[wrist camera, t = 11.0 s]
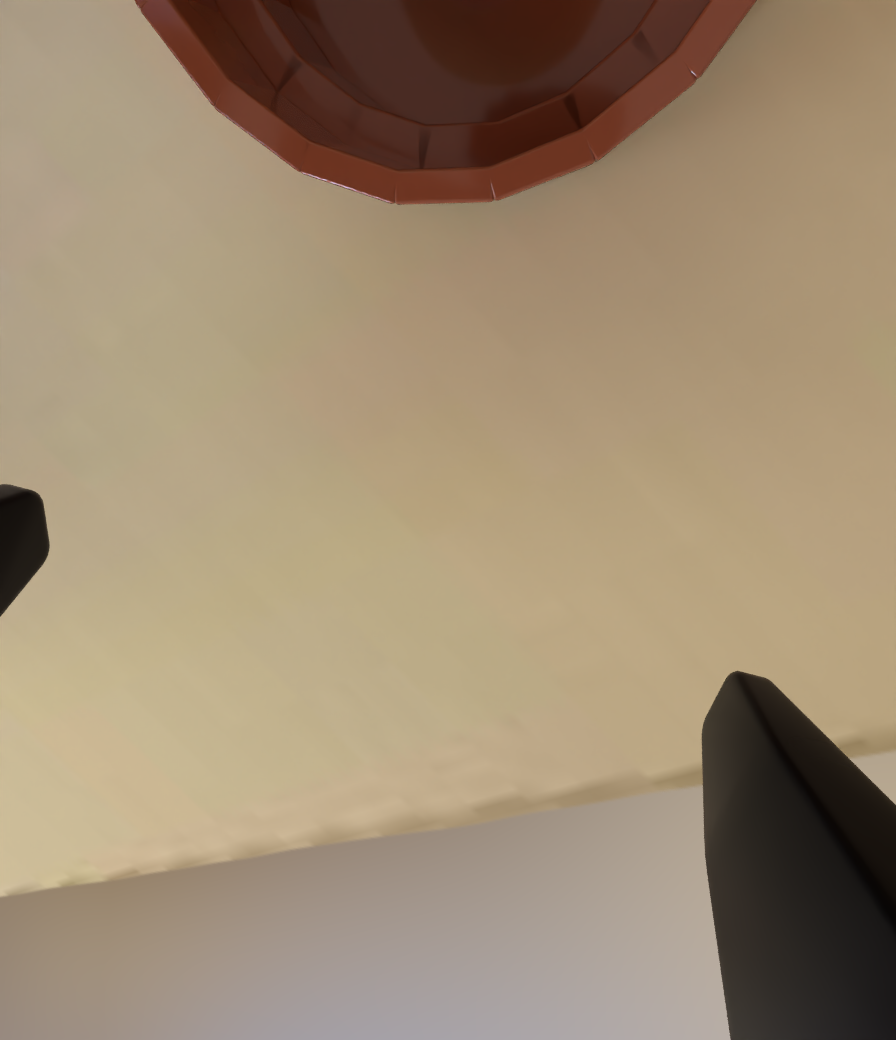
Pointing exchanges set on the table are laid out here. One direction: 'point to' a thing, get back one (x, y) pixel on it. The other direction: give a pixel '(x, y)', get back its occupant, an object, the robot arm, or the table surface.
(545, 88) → the bowl
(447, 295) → the table surface
